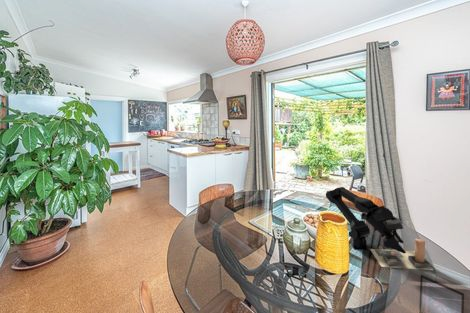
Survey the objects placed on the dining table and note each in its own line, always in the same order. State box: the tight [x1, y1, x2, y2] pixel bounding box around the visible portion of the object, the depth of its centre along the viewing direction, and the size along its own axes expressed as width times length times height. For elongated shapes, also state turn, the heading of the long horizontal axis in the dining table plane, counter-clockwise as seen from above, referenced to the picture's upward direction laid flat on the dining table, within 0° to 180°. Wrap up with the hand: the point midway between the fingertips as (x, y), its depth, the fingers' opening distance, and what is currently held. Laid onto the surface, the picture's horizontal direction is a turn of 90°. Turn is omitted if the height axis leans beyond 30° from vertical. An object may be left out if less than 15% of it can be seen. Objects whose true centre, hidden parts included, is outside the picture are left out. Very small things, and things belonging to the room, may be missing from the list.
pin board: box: [369, 248, 434, 271], centre depth 104 cm, size 21×14×3 cm
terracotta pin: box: [414, 238, 426, 264], centre depth 98 cm, size 4×4×12 cm
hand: (404, 247), depth 102 cm, fingers open, 9 cm apart
